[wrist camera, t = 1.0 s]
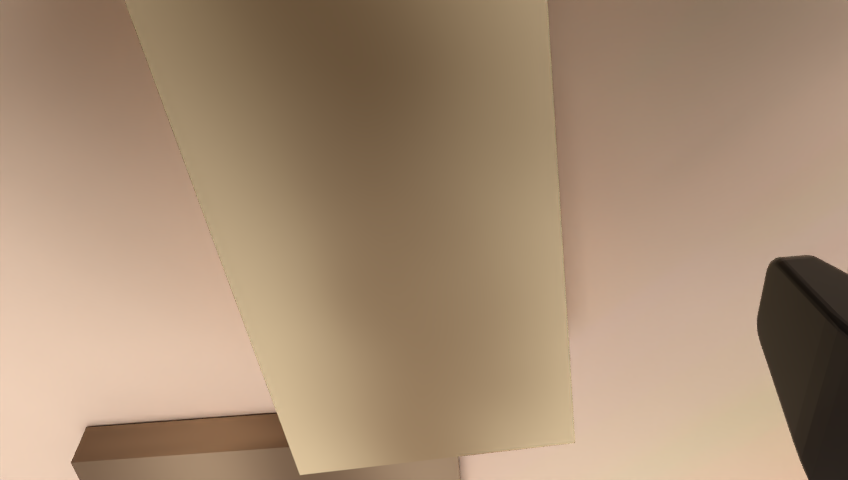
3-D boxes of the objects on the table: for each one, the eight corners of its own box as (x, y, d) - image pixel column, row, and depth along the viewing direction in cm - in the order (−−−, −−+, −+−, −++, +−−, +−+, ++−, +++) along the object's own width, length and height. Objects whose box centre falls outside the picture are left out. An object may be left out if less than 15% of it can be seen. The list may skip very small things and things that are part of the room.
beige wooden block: (476, -539, 11) (507, -640, 8) (547, 320, 20) (575, 442, 17) (68, -456, 11) (-68, -519, 8) (316, 350, 20) (299, 475, 17)
